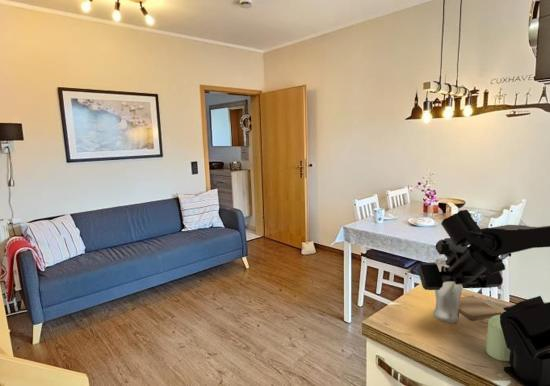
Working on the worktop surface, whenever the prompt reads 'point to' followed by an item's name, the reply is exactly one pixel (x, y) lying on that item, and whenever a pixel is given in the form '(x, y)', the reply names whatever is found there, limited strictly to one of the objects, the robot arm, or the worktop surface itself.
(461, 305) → the walnut board
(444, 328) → the worktop surface
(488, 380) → the worktop surface
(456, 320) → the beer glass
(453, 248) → the robot arm
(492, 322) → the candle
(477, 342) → the worktop surface
